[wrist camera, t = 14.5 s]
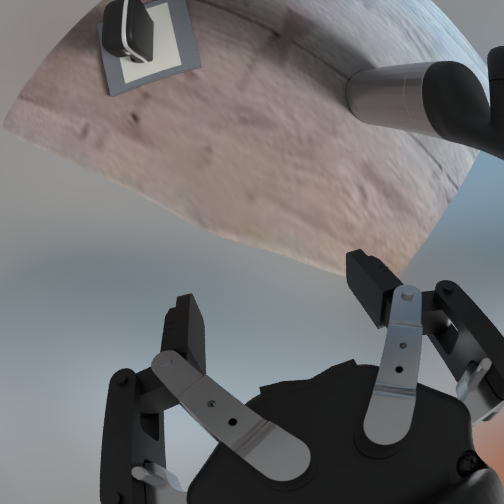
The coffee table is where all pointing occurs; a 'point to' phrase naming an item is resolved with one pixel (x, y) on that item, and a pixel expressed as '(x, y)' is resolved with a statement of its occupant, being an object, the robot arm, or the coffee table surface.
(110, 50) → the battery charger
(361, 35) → the coffee table surface
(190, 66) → the pad
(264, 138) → the coffee table surface
